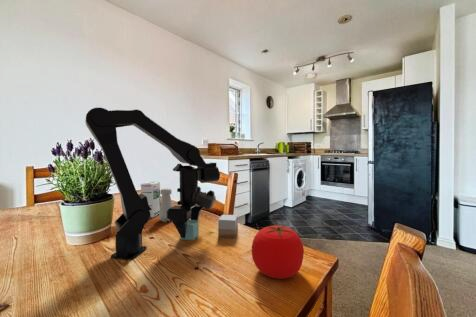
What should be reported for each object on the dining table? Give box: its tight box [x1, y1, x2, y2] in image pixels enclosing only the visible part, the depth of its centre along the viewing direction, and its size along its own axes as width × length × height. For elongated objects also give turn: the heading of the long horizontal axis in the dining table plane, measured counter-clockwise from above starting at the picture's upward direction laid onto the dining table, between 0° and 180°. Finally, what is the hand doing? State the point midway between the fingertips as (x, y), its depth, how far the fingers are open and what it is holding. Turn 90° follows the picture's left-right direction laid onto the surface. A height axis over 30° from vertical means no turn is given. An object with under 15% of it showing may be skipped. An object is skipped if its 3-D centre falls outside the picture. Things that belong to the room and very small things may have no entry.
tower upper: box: [217, 214, 239, 230], centre depth 69 cm, size 6×6×3 cm
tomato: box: [251, 224, 305, 280], centre depth 48 cm, size 12×12×10 cm
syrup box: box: [140, 181, 161, 218], centre depth 90 cm, size 6×6×14 cm
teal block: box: [179, 219, 200, 241], centre depth 67 cm, size 4×4×5 cm
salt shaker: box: [158, 187, 173, 223], centre depth 84 cm, size 6×6×13 cm
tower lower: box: [217, 223, 239, 239], centre depth 69 cm, size 6×6×3 cm
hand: (189, 232), depth 67 cm, fingers open, 9 cm apart
